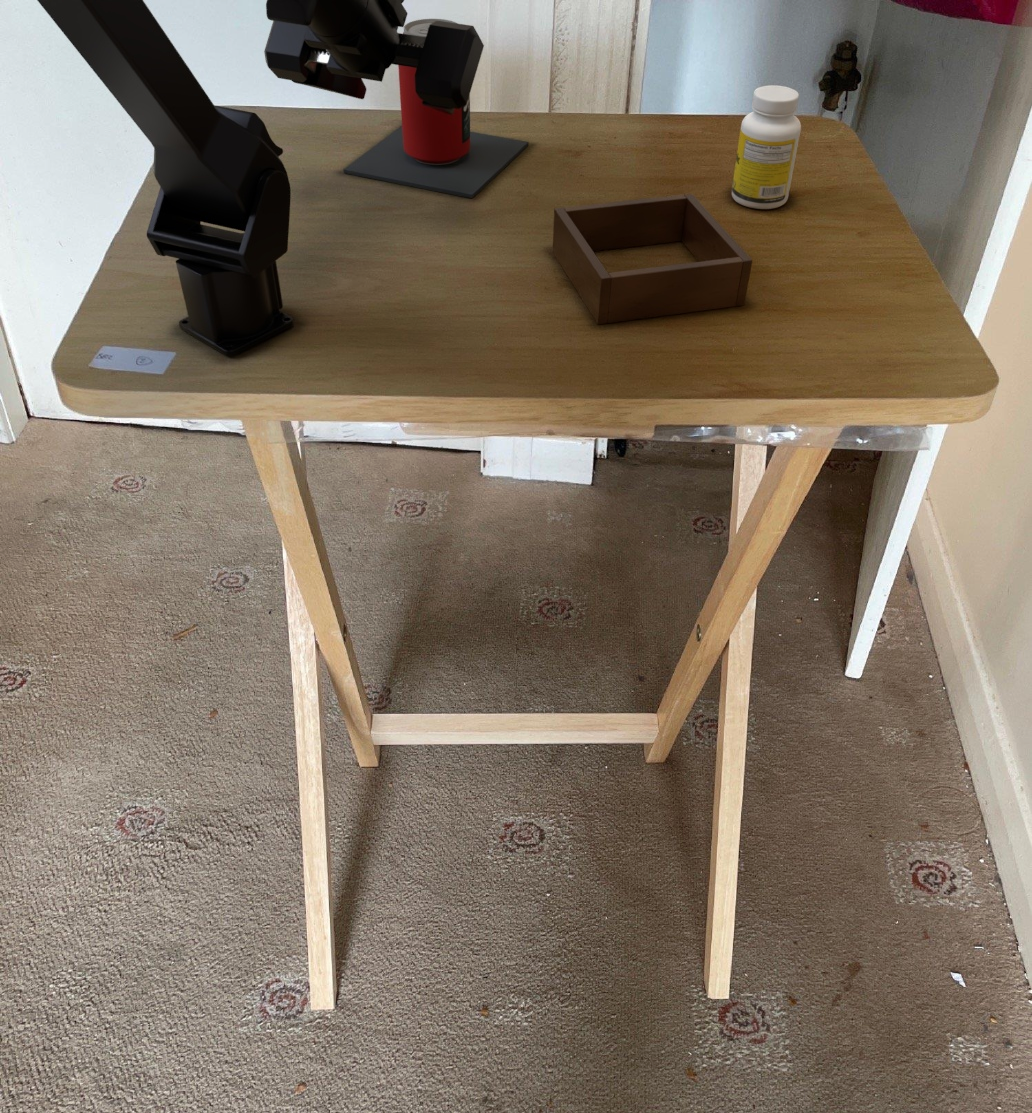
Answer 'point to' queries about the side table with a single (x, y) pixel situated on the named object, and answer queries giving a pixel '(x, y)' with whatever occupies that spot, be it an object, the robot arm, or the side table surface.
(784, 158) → the supplement bottle
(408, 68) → the beverage can
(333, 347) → the side table surface
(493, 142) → the mat
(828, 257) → the side table surface
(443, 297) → the side table surface
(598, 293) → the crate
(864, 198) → the side table surface
